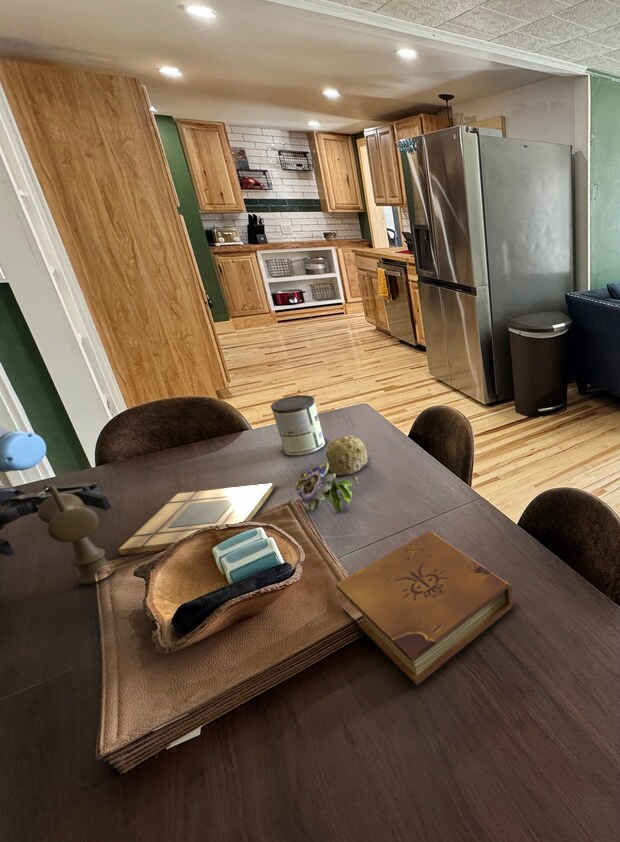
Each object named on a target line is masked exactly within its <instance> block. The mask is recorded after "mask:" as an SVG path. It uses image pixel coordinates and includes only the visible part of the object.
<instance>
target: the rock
mask: <svg viewBox="0 0 620 842" xmlns="http://www.w3.org/2000/svg"><path fill="white" fill-rule="evenodd" d="M364 443H365V442H363V440H361V439H360V438H358V437H357V436H354V435H344V436H340V437H338V438H335V439H334V440H332V441H331V442H330V443H329V444H328V445H327V447H326V451H325V457H326V458H327V462H328V463H329V469H328V470H329V471H330V474H335V475H336V476H345V475H346V476H347V475H351V474H354V473H356V472H358V471H359V470H360V469H361V468H363V467H365V465H366V464H367V463H368V462H369V460H368V451H367V448H366V446H365V444H364Z"/></svg>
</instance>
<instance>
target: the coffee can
mask: <svg viewBox="0 0 620 842" xmlns="http://www.w3.org/2000/svg"><path fill="white" fill-rule="evenodd" d="M315 400H316V399H315V397H314V396H311V395H307V394H303V395H302V394H300V395H291V396H287V397H284V398H281V399H277V400H276V401H273V403H271V404H270V409H271V411H272V415H273V417H274V420H275V424H276V427H277V431H278V434H279V438H280V441H281V444H282V447H283V452H284V454H286V455H288V456H302V455H308V454H311V453H314V452H316V451H318V450H321V448H323V447H324V446H325V444H326V441H325V438H324V435H323V429H322V426H321V423H320V419H319V415H318V411H317V406H316V403H315V402H316V401H315Z"/></svg>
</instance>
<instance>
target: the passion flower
mask: <svg viewBox="0 0 620 842" xmlns="http://www.w3.org/2000/svg"><path fill="white" fill-rule="evenodd" d="M329 470H330V469H329V463H328V461H325V462H324V463H321V464H317V466H315V467H314V468H311V469H308V471H306V473H305V472H302V473H301V474H300V476H299V477H298V479H297V482H296V483H295V487H296V488H295V490H296V491H297V492H298V495H299V497H300V499H301V502H303V503H304V504H305V505H306V504H307V507H306V509H305V510H306V511H310V510H311V511H312V512H313V511H315V510H316V509H317V508H318V505H319V502H324V501H325V500H326V499H327V500H328V501H329V502H330V503H332V506H333V508H334V510H336V511H338V512H339V511H340V512H343V500H342V498H341V495H340V493H341V494H342V496H343V499H344V501H345V502H346V505H347V506H350V503H351V502H352V498H353V492H352V491H353V490H352V489H351V486H353V484H352V481H349V480H351V479H353V480H354V482H355V484H356V486H357V487H358V486H360V483H359V480H358V478H357V475H354V476H351V477H348V478H346V479H344V480H339V481H338V482H336V480H335V479H336V478H337V477H336V476H337V475H335V474H334V473H329V472H328V471H329ZM338 490H339V492H340V493H339V492H338Z"/></svg>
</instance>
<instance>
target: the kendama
mask: <svg viewBox="0 0 620 842" xmlns="http://www.w3.org/2000/svg"><path fill="white" fill-rule="evenodd" d="M50 491H51V494H52V496H53V497H51V498H48V499H46V500H45V501H44V502H42V503H41V504H40V506H39V505H38V507H39V508H38V512H37V515H38V518H39V519H40V520H41V521H42V522H43V523H46V524H47V527H46V530H47V533H48V535H49V536H50V538H51V539H53V540H54V541H57V542H59V543H72V544H71V545H72V548H73V552H74V557H73V558H72V560H71V564H72V565H73V566H75V567H77V568H78V571H79V576H78V578H77V580H78V581H77V582H78V583H79V584H81V585H93V584H96V583H97V582H96V580H95V574H96V570H97V569H99V568H101V567H103V566H105V565H107V564H108V563H110V562H109V561H107V559H106V558H105V555H106V550H105V549H103V548H101V547H98V546H96V545H95V544H94V543H93V542H92V541H91V540H90V538H89V536H91V535H92V534H93V533H94V532H95V531H96V530H97V529H98V527H99V525H100V519H99V515H98V514H97V513H96V512H95V510H93V509H91V508H88V507H85V506H84V503H83V501H82V500H81V499H80V498H79V497H78V496H75V495H73V494H59V492H58V491H57V489H56V488H55V487H54V486H50Z"/></svg>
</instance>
